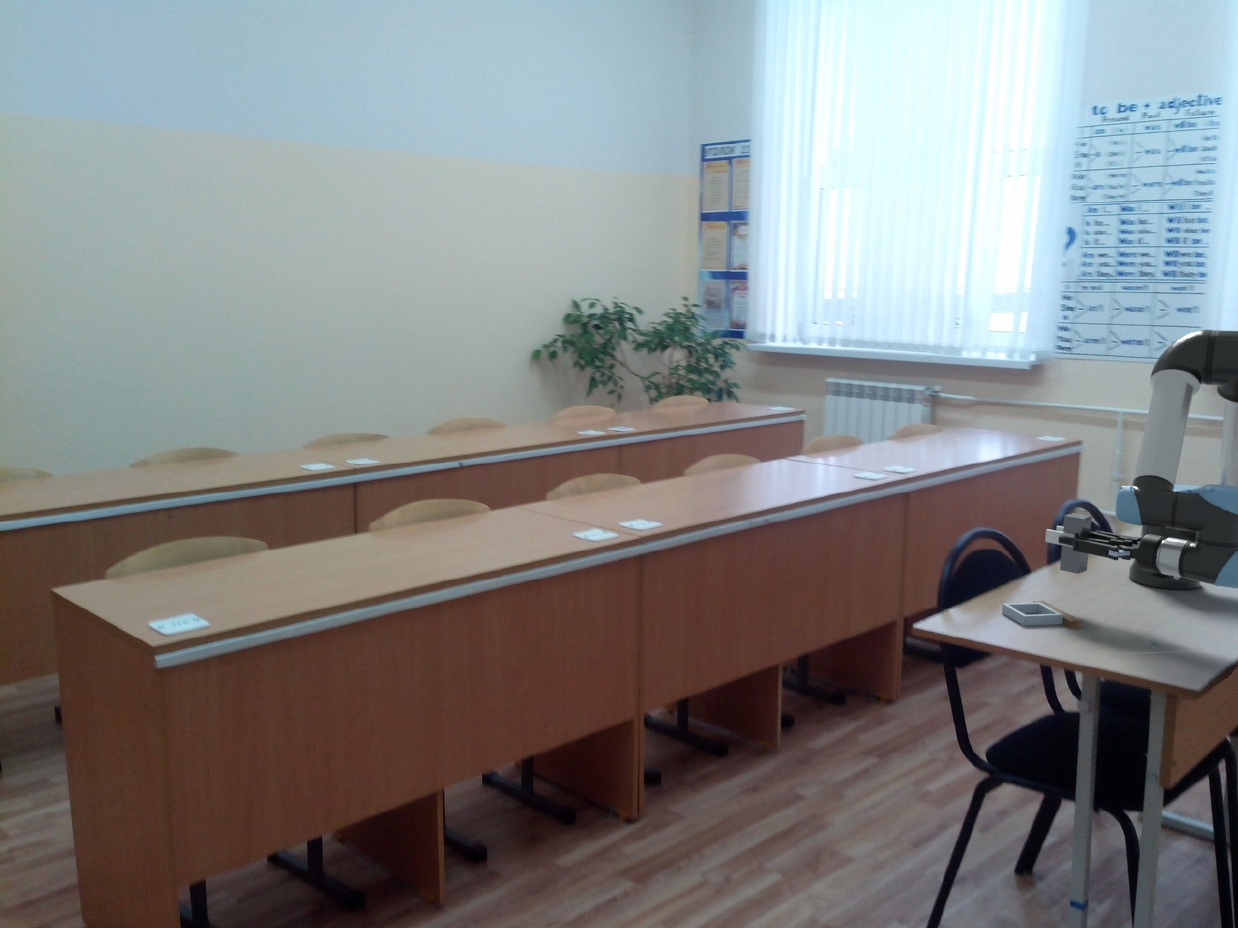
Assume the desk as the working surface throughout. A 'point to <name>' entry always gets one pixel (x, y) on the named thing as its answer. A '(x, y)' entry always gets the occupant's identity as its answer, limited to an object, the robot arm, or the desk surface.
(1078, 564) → the bar
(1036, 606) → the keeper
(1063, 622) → the sill strip
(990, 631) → the desk surface
